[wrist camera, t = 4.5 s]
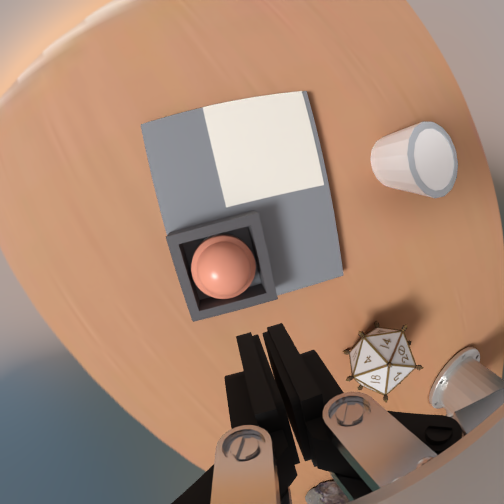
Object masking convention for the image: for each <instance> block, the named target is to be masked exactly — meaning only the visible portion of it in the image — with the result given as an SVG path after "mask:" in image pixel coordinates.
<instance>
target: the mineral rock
mask: <svg viewBox="0 0 504 504" xmlns="http://www.w3.org/2000/svg"><path fill="white" fill-rule="evenodd" d="M305 499H306V502H307V504H346V503H348V502H350V500H349V499H348V498H347V496H346V495H345V494H344V493H343V491H342V490H341V489H340V487H339V486H338V485H337V483H336V482H335V481H332V482H330V481H328V482H325V483H320V484H318V485H317V487H316V488H313V489H311V490H309V492H308V493H307V495H306V496H305Z"/></svg>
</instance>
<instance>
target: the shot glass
mask: <svg viewBox="0 0 504 504" xmlns="http://www.w3.org/2000/svg"><path fill="white" fill-rule="evenodd" d="M370 160H371V165H372V170H373V172H374V174H375V176H376V178H377V179H378V180H379V181H380V182H381V183H382V184H383V185H384V186H387V187H390V188H394V189H399V190H403V191H408V192H412V193H416V194H420V195H424V196H428V197H432V198H438V197H443V196H445V195H446V194H447V193H448V192H449V191H450V190H451V189H452V187H453V185H454V183H455V180H456V178H457V169H458V161H457V155H456V150H455V147H454V145H453V142H452V140H451V138H450V136H449V135H448V134H447V133H446V131H445V130H444V129H443V128H442V127H441V126H439V125H437V124H436V123H434V122H421V123H418V124H415V125H413V126H410V127H407V128H405V129H402V130H400V131H397V132H394V133H392V134H389V135H387V136H384V137H382V138H381V139H379V140H378V141H376V143H375V145H374V146H373V148H372V152H371V159H370Z"/></svg>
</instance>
